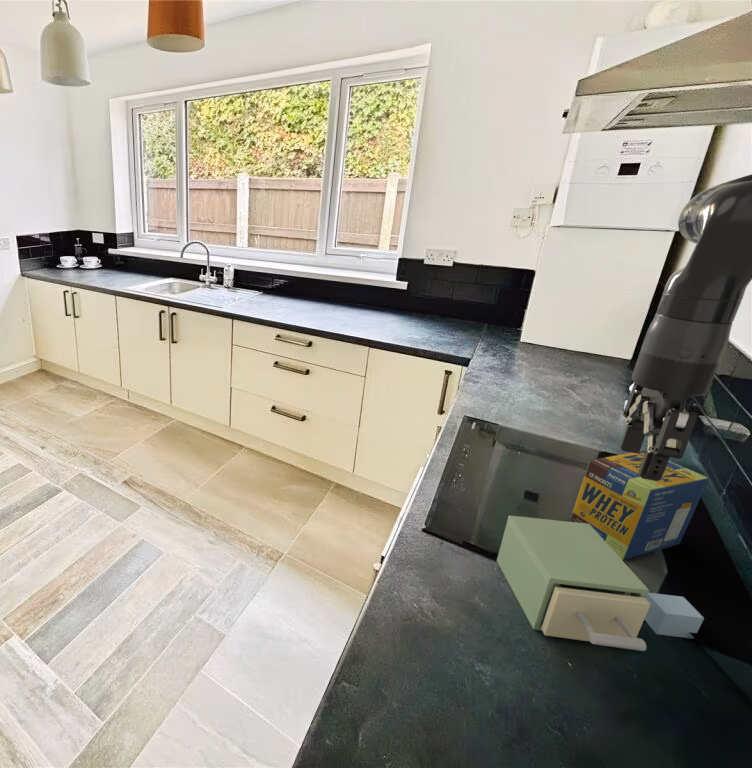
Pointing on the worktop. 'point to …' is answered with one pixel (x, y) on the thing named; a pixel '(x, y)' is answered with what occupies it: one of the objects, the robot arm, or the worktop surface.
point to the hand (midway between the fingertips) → (637, 463)
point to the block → (672, 616)
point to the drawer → (595, 616)
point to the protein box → (637, 504)
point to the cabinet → (559, 562)
